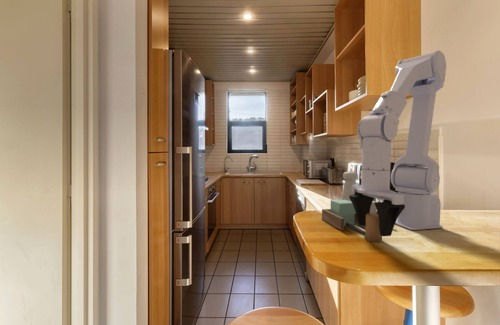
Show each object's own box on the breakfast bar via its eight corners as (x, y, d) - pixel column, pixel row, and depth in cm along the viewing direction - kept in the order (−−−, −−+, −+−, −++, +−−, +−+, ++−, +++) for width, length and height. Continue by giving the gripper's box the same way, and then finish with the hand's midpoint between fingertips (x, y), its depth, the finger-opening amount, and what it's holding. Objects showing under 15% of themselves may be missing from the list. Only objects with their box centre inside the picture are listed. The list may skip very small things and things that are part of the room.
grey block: (365, 219, 76) (366, 198, 75) (376, 224, 71) (376, 202, 71) (351, 220, 75) (352, 199, 75) (361, 224, 70) (362, 202, 70)
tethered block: (344, 220, 74) (345, 199, 74) (387, 241, 58) (388, 214, 58) (330, 221, 74) (330, 200, 73) (369, 243, 57) (370, 215, 57)
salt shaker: (361, 216, 79) (362, 173, 79) (341, 215, 80) (342, 172, 80) (357, 211, 85) (358, 171, 84) (338, 210, 86) (339, 170, 85)
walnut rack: (365, 217, 78) (365, 207, 78) (389, 227, 68) (390, 215, 68) (321, 219, 75) (322, 209, 75) (340, 230, 66) (341, 218, 65)
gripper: (341, 167, 65) (339, 221, 65) (382, 172, 50) (380, 242, 51) (366, 166, 66) (365, 220, 67) (414, 172, 52) (411, 240, 53)
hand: (373, 229), depth 59 cm, fingers open, 7 cm apart
